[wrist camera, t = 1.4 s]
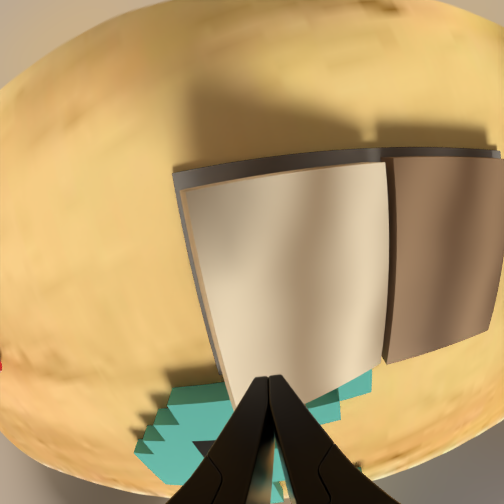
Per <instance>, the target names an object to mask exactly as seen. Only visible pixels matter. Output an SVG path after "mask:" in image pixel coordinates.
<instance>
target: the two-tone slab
mask: <svg viewBox="0 0 504 504" xmlns="http://www.w3.org/2000/svg"><path fill="white" fill-rule="evenodd" d="M361 162H385V166H386V178H387V193H388V215H389V271H388V293H387V308H386V320H385V330H384V339H383V347H382V355H381V356H382V357H383V359H384V361H385V363H386V365H387V364H391V363H395V362H399V361H402V360H406V359H409V358H412V357H416V356H419V355H422V354H425V353H428V352H431V351H435V350H437V349H440V348H443V347H446V346H449V345H452V344H455V343H457V342H460V341H463V340H465V339H468V338H470V337H473V336H475V335H478V334H480V333H483V332H485V331H487V330H488V328H489V324H490V321H491V317H492V313H493V309H494V305H495V301H496V296H497V291H498V287H499V281H500V276H501V270H502V264H503V257H504V159H501V154H500V151H495V150H483V149H467V148H442V147H390V148H363V149H346V150H332V151H320V152H309V153H299V154H290V155H281V156H273V157H265V158H258V159H251V160H244V161H238V162H231V163H225V164H219V165H213V166H208V167H202V168H197V169H192V170H187V171H182V172H177V173H172V176H173V181H174V187H175V192H176V198H177V203H178V208H179V213H180V218H181V223H182V228H183V233H184V238H185V242H186V247H187V252H188V256H189V261H190V265H191V269H192V274H193V278H194V282H195V286H196V290H197V295H198V299H199V303H200V307H201V311H202V314H203V318H204V322H205V326H206V330H207V333H208V337H209V341H210V344H211V348H212V352H213V355H214V359H215V362H216V366H217V369H218V372H219V375H223V374H222V371H221V367H220V364H219V360H218V357H217V353H216V349H215V346H214V342H213V338H212V334H211V331H210V327H209V323H208V319H207V315H206V311H205V307H204V303H203V299H202V295H201V290H200V286H199V282H198V278H197V273H196V269H195V264H194V260H193V255H192V251H191V246H190V241H189V237H188V232H187V227H186V222H185V217H184V212H183V207H182V201H181V196H180V190H184V189H188V188H193V187H198V186H203V185H208V184H213V183H218V182H224V181H229V180H235V179H240V178H246V177H252V176H258V175H264V174H271V173H277V172H284V171H291V170H299V169H306V168H314V167H322V166H331V165H340V164H350V163H361Z"/></svg>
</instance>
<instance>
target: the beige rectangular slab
mask: <svg viewBox="0 0 504 504" xmlns="http://www.w3.org/2000/svg"><path fill="white" fill-rule="evenodd" d="M180 196H181V201H182V207H183V212H184V217H185V222H186V227H187V232H188V237H189V241H190V246H191V251H192V255H193V260H194V264H195V269H196V273H197V278H198V282H199V286H200V290H201V295H202V299H203V303H204V307H205V311H206V315H207V319H208V323H209V327H210V331H211V334H212V338H213V342H214V346H215V349H216V353H217V357H218V360H219V364H220V367H221V371H222V374H223V378H224V381H225V385H226V388H227V391H228V395H229V398H230V401H231V405H232V408H233V411H235V409H236V407H237V406H238V404H239V402H240V401H241V399H242V397H243V396H244V394H245V392H246V391H247V389H248V387H249V386H250V384H251V382H252V381H253V379H254V378H255V377H260V376H267V377H269V376H270V375H277V374H281V375H283V377H284V378H285V379H286V381H287V382H288V383H289V385H290V386H291V387H292V389H293V390H294V391H295V393H296V394H297V395H298V397H299V398H300V399H301V401H302V402H303V403H304V404H306V403H308V402H310V401H312V400H314V399H316V398H318V397H320V396H322V395H324V394H326V393H328V392H330V391H332V390H334V389H336V388H338V387H340V386H342V385H344V384H345V383H347V382H349V381H351V380H353V379H355V378H356V377H358V376H360V375H362V374H363V373H365V372H367V371H369V370H370V369H372V368H374V367H375V366H377V365H379V364H380V362H381V355H382V347H383V339H384V330H385V320H386V308H387V293H388V271H389V215H388V193H387V178H386V166H385V162H361V163H350V164H340V165H331V166H322V167H314V168H306V169H299V170H291V171H284V172H277V173H271V174H264V175H258V176H252V177H246V178H240V179H235V180H229V181H224V182H218V183H213V184H208V185H203V186H198V187H193V188H188V189H184V190H180Z"/></svg>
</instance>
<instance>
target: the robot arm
mask: <svg viewBox="0 0 504 504" xmlns="http://www.w3.org/2000/svg"><path fill="white" fill-rule="evenodd" d="M275 439H276V444H277V449H278V453H279V457H280V461H281V465H282V469H283V474H284V478H285V482H286V486H287V490H288V494H289V498H290V502H291V504H401V503H399V502H397V501H396V500H395V499H393V498H392V497H391V496H389V495H388V494H387V493H386V492H384V491H383V490H382V489H381V488H379V487H378V486H377V485H376V484H375V483H373V482H372V481H371V480H370V479H369V478H367V477H366V476H365V475H364V474H363V473H362V472H361V471H360V470H359V469H358V468H356V467H355V466H354V465H353V464H352V463H351V462H350V460H349V459H348V458H347V457H346V456H345V455H344V454H343V453H342V451H341V450H340V449H339V448H338V447H337V445H336V444H334V442H333V441H332V439H331V438H330V437H329V435H328V434H327V433H326V432H325V430H324V429H323V428H322V427H321V425H320V424H319V423H318V421H317V420H316V419H315V418H314V416H313V415H312V414H311V412H310V411H309V410H308V409H307V407H306V406H305V405H304V403H303V402H302V401H301V399H300V398H299V397H298V395H297V394H296V393H295V391H294V390H293V389H292V387H291V386H290V385H289V383H288V382H287V381H286V379H285V378H284V377H283V375H281V374H277V375H270V376H269V377H267V376H260V377H255V378H254V379H253V381H252V382H251V384H250V386H249V387H248V389H247V391H246V392H245V394H244V396H243V397H242V399H241V401H240V402H239V404H238V406H237V407H236V409H235V411H234V412H233V414H232V415H231V417H230V419H229V420H228V422H227V423H226V425H225V427H224V428H223V430H222V431H221V433H220V434H219V436H218V437H217V439H216V441H215V442H214V444H213V445H212V447H211V448H210V450H209V451H208V453H207V456H205V457H204V459H203V460H202V462H201V463H200V465H199V466H198V467H197V469H196V470H195V471H194V473H193V474H192V475H191V477H190V478H189V479H188V480H187V481H186V482H185V484H184V485H183V486H182V487H181V488H180V489H179V490H178V491H177V492H176V493H175V494H174V495H173V496H172V497H171V498H170V500H169V501H168V502H167V503H166V504H270V502H271V490H272V477H273V463H274V449H275Z"/></svg>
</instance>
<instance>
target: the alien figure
mask: <svg viewBox="0 0 504 504" xmlns="http://www.w3.org/2000/svg"><path fill="white" fill-rule="evenodd" d="M371 387H372V369H370V370H369V371H367V372H365V373H363V374H362V375H360V376H358V377H356V378H355V379H353V380H351V381H349V382H347V383H345V384H344V385H342V386H340V387H338V388H336V389H334V390H332V391H330V392H328V393H326V394H324V395H322V396H320V397H318V398H316V399H314V400H312V401H310V402H308V403H306V407H307V409H308V410H309V411H310V412H311V414H312V415H313V416H314V418H315V419H316V420H317V421H318V423H319V424H320V425H321V424H325V423H329V422H333V421H337V420H341V415H340V402H339V401H342V400H346V399H349V398H353V397H356V396H360V395H363V394H366V393H369V392H371ZM167 406H168V408H163V409H158V412H157V415H156V418H155V421H154V424H153V425H147V428H146V431H145V434H144V437H143V439H138V442H137V445H136V448H135V450H134V454H135V455H136V456H137V457H138V458H139V459H140V460H141V461H142V462H143V463H144V464H145V465H146V466H147V467H148V468H149V469H150V470H151V471H152V472H153V473H154V474H155V475H156V476H157V477H158V478H160V479H161V480H162V481H163V482H164V483H165V484H169V485H184V484H185V482H186V481H187V480H188V479H189V478H190V477H191V475H192V474H193V473H194V471H195V470H196V469H197V467H198V466H199V465H200V463H201V462H202V460H203V459H204V457H205V456H207V453H208V451H209V450H210V448H211V447H212V445H213V444H214V442H215V441H216V439H217V437H218V436H219V434H220V433H221V431H222V430H223V428H224V427H225V425H226V423H227V422H228V420H229V419H230V417H231V415H232V414H233V412H234V411H233V408H232V405H231V401H230V398H229V395H228V391H227V388H226V385H225V382H221V383H213V384H205V385H196V386H186V387H175V388H172V391H171V394H170V397H169V401H168V404H167ZM357 468H358V469H359V470H360V471H361V467H357ZM361 472H362V471H361ZM284 480H285V478H284V474H283V469H282V465H281V461H280V457H279V453H278V449H277V444H276V439H275V449H274V463H273V477H272V490H271V502H270V503H279V502H283V501H284V499H283V489H282V487H281V485H280V484H279V482H278V481H284Z"/></svg>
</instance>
